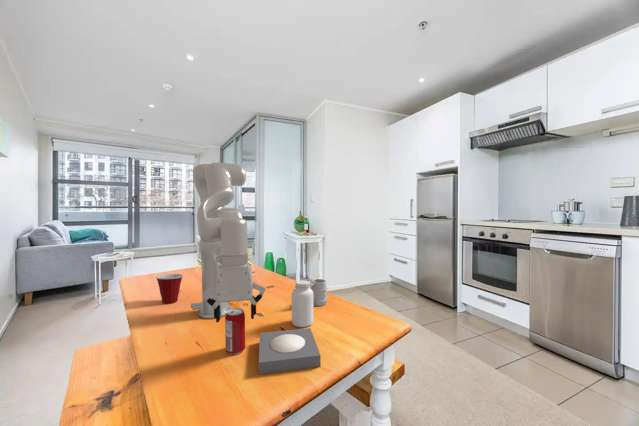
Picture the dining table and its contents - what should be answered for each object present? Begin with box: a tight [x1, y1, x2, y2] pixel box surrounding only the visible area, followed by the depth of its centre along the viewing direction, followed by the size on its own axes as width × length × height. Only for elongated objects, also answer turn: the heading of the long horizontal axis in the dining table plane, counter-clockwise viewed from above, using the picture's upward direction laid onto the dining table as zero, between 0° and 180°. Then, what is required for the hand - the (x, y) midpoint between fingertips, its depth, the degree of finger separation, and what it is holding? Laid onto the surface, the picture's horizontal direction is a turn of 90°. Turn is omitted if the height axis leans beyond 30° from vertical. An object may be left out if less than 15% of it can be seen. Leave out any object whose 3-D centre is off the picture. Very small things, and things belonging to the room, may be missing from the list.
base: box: [258, 327, 322, 375], centre depth 76 cm, size 16×16×3 cm
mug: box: [306, 278, 329, 307], centre depth 114 cm, size 8×12×12 cm, turn 132°
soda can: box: [224, 307, 246, 355], centre depth 78 cm, size 6×6×12 cm
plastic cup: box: [155, 273, 184, 305], centre depth 118 cm, size 11×11×12 cm
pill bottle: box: [291, 279, 314, 328], centre depth 96 cm, size 8×8×15 cm
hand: (235, 318), depth 77 cm, fingers open, 9 cm apart
